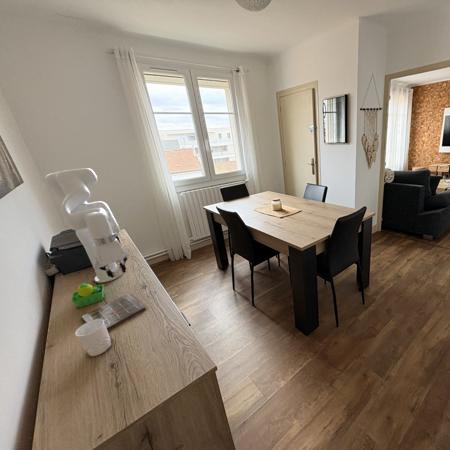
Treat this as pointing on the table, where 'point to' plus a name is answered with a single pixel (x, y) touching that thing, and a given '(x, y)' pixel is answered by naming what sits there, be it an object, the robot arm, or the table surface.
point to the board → (116, 311)
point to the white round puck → (117, 271)
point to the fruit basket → (87, 295)
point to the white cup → (94, 337)
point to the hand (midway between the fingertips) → (117, 273)
